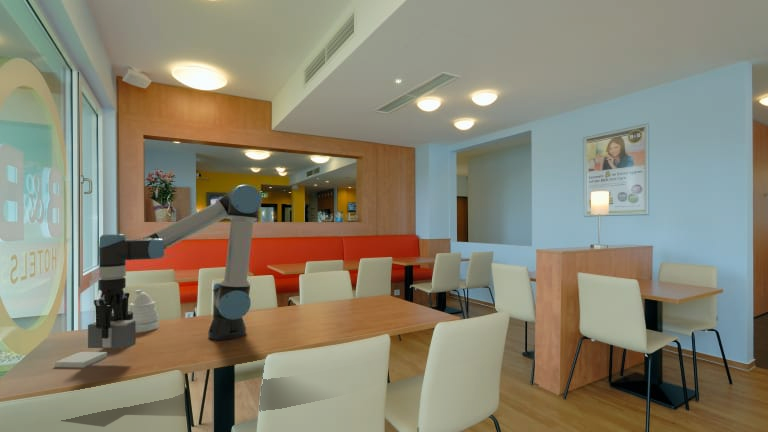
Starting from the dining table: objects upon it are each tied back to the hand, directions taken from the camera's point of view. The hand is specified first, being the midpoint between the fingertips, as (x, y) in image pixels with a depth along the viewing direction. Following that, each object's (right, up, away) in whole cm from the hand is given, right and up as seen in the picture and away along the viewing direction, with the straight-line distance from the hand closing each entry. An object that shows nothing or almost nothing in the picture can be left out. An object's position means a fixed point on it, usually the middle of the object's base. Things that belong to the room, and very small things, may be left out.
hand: (112, 344), depth 129 cm
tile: (-6, -5, 0) cm, 8 cm away
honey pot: (-17, -7, +41) cm, 45 cm away
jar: (-12, -7, +20) cm, 24 cm away
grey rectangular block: (0, -1, 0) cm, 1 cm away
